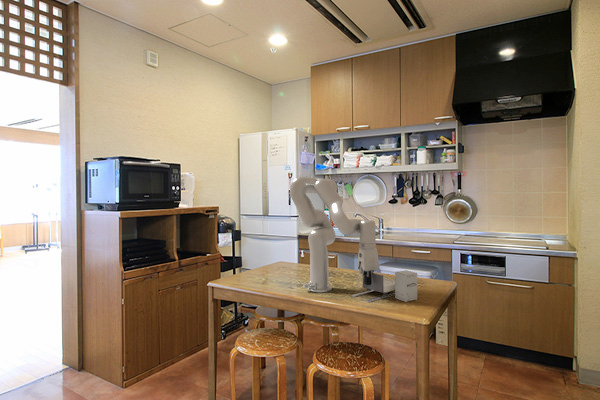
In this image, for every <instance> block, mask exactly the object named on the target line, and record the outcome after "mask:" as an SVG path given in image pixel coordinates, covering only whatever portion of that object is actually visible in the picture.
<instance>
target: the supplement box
mask: <svg viewBox="0 0 600 400" xmlns="http://www.w3.org/2000/svg"><path fill="white" fill-rule="evenodd" d="M394 278H395V279H394V280H395V290H394V293H395V295H394V298H395V299H397V300H399V301H403V302H406V303H407V302H411V301H417V300H418V272H415V271H411V270H400V271H395V272H394Z"/></svg>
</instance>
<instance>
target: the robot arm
mask: <svg viewBox="0 0 600 400" xmlns="http://www.w3.org/2000/svg"><path fill="white" fill-rule="evenodd" d="M307 193H309V194H317V195H318V196H319V198H320V200H322V202H323V204H324V205H325V206H326V208H327V209H328V211H329V215H327V213H326V212H325V211H324V210H322V209H316V208H315V207H314V205H313V203H312V201H311V199H310V198H309V196H308V195H307ZM289 194H290V197H291V200H292V202H293V204H294V205H295V207H296V210H297V213H298V215H299V216H300V220H301V221H302V223H303V225H304V226H305V227H306V228H310V229H313V230H311V231H310V232H309V234H308V238H307V241H308V249H309V268H310V269H309V276H310V277H309V279H310V280H308V282H307V283H303V284H302V288H303V289H306V290H307V291H309V292H313V293H327V292H330V291H332V286H331V285H329V281H330V279H329V251H328V247H327V246H329V245H332V244H333V243H334V242H335V241H336V236H337V235H336V231H335V229H334V226H335V227H336V228H337V229H338V231H339V232H340V233H341V234H342V235H344V236H347V237H348V236H349V237H350V236H353V235H359V244H358V247H359V248H358V249H359V250H358V254H357V270H358V273H359V274H362V277H363V276H364V284H366V285H371V284H372V277H371V276H372V275H373V273H375V272H376V271H377V270H378V269H379V254H378V253H379V252H378V249H377V247H376V245H377V244H376V235H377V234H376V233H377V232H376V222H375V221H374V220H373V219H358V218H353V219H350V218H349V217H348V216H347V215H346V213H345V211H343V202H344V200H343V199H344V198H343V197H341V195H340V194H339V192H338V185H337V182H336V181H335V180H333V179H330V178H321V177H310V176H308V177H307V176H298V177H295V178H294V179H292V182H291V183H290V186H289ZM329 216H330V218H331V221H332V222H331V221H330V219H329ZM332 223H333V224H334V226H333V225H332Z"/></svg>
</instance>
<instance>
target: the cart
mask: <svg viewBox="0 0 600 400" xmlns="http://www.w3.org/2000/svg"><path fill="white" fill-rule="evenodd" d="M371 277H372V284H371V285H366V284H364V276H363V275H362V288H364V289H366V290H367V291H371V290H374V291H376V292H379V293H382V294H383V295H382V296H384V295H388V294H389V292H392V291H395V279H392V278H387V277H384V275H383V274H380V273H375V272H373V275H372V276H371Z"/></svg>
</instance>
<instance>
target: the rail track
mask: <svg viewBox="0 0 600 400" xmlns="http://www.w3.org/2000/svg"><path fill="white" fill-rule="evenodd" d="M375 292H377V291H374V290H371V291H368V290H367V291H363V292H359V293H355V294H352V295H350V297H351V298H355V297H359V296H363V295H368V294H372V293H375ZM392 296H395V292H392V293H388V294H387V295H381V296H377V297H374V298H369V299H366V300H365V301H366V302H367V303H372V302H375V301H379V300H382V299H385V298H386V299H387V298H389V297H392Z"/></svg>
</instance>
